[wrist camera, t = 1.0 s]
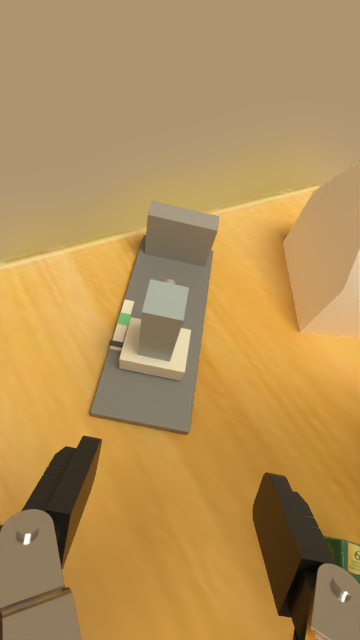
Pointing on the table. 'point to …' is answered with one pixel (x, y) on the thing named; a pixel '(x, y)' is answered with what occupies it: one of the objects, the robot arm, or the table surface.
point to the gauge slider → (158, 333)
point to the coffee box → (345, 555)
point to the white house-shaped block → (327, 258)
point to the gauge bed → (193, 272)
